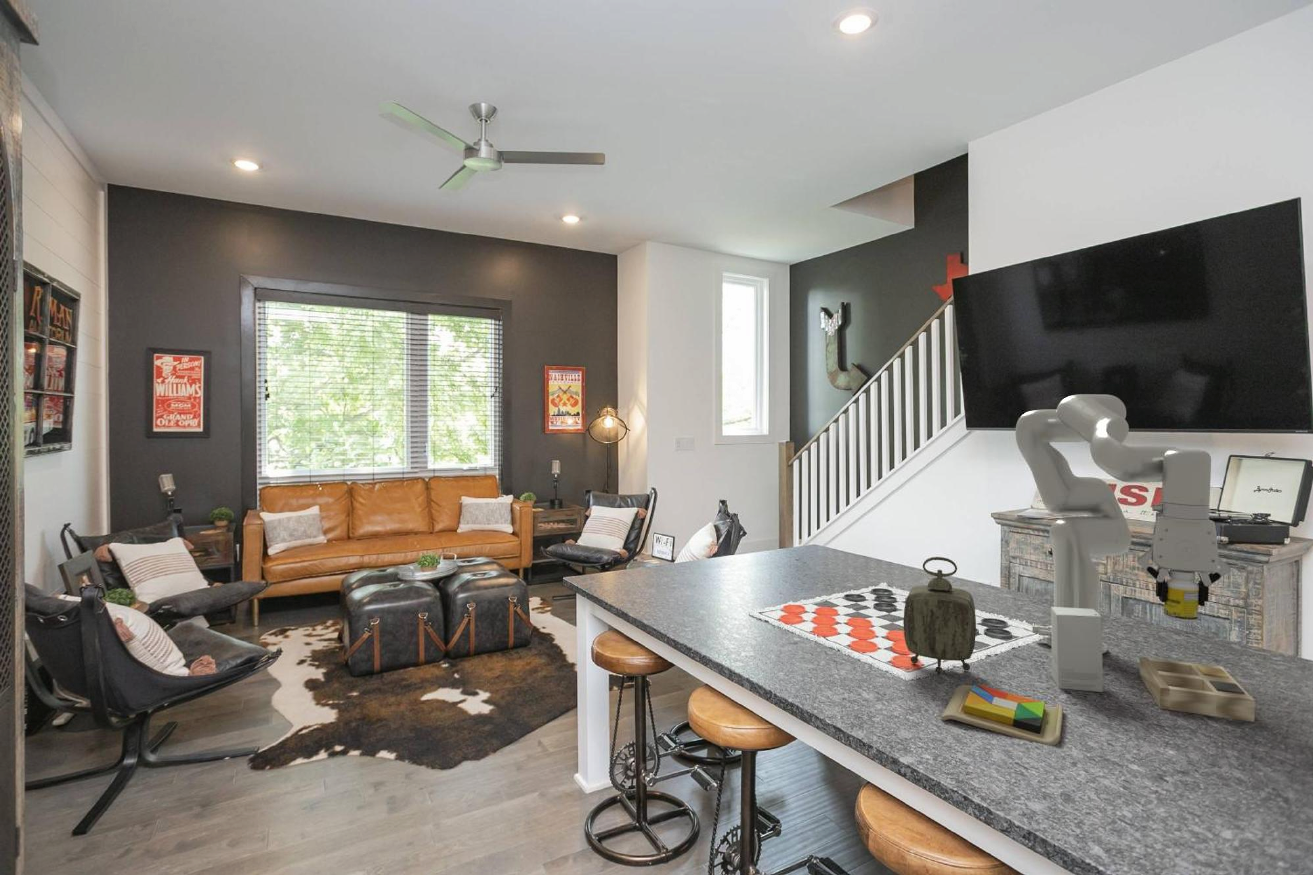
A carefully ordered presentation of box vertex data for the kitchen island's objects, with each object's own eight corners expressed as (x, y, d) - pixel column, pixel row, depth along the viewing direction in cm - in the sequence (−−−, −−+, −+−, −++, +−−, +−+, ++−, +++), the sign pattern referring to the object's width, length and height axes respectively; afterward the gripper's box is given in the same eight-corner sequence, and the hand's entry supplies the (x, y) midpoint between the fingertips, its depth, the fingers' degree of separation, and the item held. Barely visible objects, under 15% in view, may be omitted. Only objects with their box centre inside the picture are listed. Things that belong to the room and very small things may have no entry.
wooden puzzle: (1059, 750, 114) (1059, 730, 114) (939, 724, 125) (939, 705, 124) (1063, 713, 129) (1063, 695, 129) (955, 692, 139) (955, 675, 139)
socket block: (1160, 708, 130) (1160, 685, 130) (1139, 675, 147) (1139, 655, 147) (1254, 721, 124) (1254, 698, 124) (1221, 686, 141) (1221, 665, 141)
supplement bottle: (1157, 614, 139) (1159, 566, 139) (1184, 615, 139) (1186, 567, 138) (1176, 623, 134) (1178, 573, 133) (1205, 623, 133) (1207, 573, 133)
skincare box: (1095, 682, 143) (1095, 608, 143) (1104, 694, 137) (1104, 616, 137) (1049, 677, 146) (1050, 605, 146) (1056, 689, 140) (1057, 613, 139)
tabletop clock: (975, 669, 151) (976, 556, 151) (975, 683, 143) (976, 563, 142) (906, 660, 157) (906, 551, 157) (902, 673, 149) (902, 558, 149)
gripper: (1135, 511, 136) (1132, 601, 137) (1246, 518, 128) (1242, 613, 129) (1129, 506, 142) (1126, 592, 143) (1234, 512, 135) (1230, 603, 136)
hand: (1181, 601), depth 136 cm, fingers closed on supplement bottle, 5 cm apart
